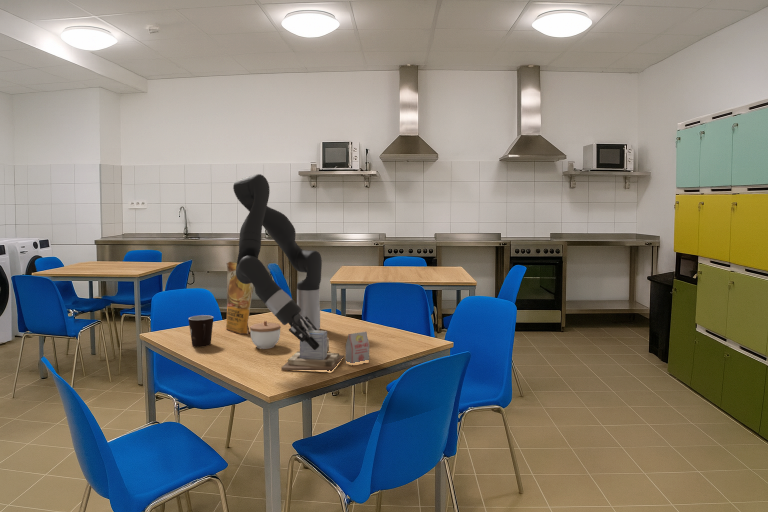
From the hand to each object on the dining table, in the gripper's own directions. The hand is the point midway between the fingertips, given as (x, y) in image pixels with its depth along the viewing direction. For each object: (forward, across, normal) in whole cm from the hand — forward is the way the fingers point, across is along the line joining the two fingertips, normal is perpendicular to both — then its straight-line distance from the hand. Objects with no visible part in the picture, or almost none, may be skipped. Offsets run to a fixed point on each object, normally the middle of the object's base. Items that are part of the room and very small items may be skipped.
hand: (319, 345), depth 157 cm
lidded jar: (-13, +18, +22) cm, 31 cm away
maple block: (+2, +13, +7) cm, 15 cm away
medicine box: (+2, 0, +4) cm, 5 cm away
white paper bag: (+13, +4, -4) cm, 14 cm away
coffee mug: (-30, +15, +39) cm, 51 cm away
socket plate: (+3, 0, +6) cm, 6 cm away
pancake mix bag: (-27, +40, +36) cm, 60 cm away
